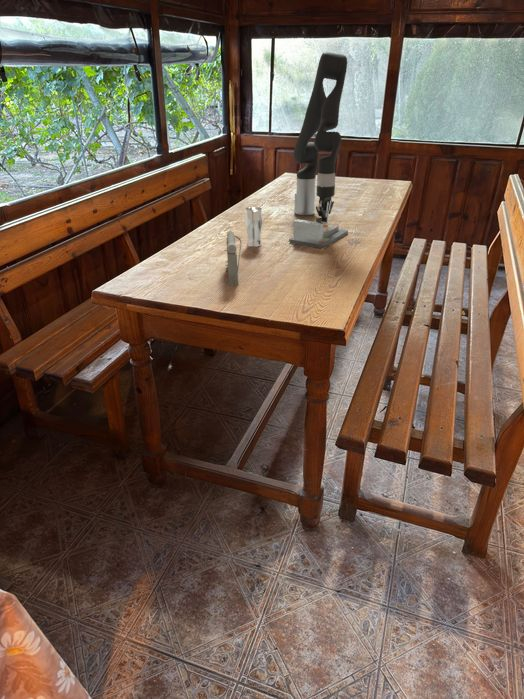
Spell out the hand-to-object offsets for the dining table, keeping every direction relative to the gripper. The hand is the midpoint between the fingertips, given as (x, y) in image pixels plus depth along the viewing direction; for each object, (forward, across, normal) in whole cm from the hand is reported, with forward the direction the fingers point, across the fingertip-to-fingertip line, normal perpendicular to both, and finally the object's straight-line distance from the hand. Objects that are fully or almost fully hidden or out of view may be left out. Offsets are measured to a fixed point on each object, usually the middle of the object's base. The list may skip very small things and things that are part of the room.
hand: (324, 225), depth 213 cm
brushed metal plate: (+3, +14, 0) cm, 15 cm away
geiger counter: (+5, +60, -5) cm, 60 cm away
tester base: (+5, +4, 0) cm, 6 cm away
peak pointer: (+3, +8, 0) cm, 9 cm away
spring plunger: (+3, +5, 0) cm, 6 cm away
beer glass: (+5, +26, -19) cm, 33 cm away
